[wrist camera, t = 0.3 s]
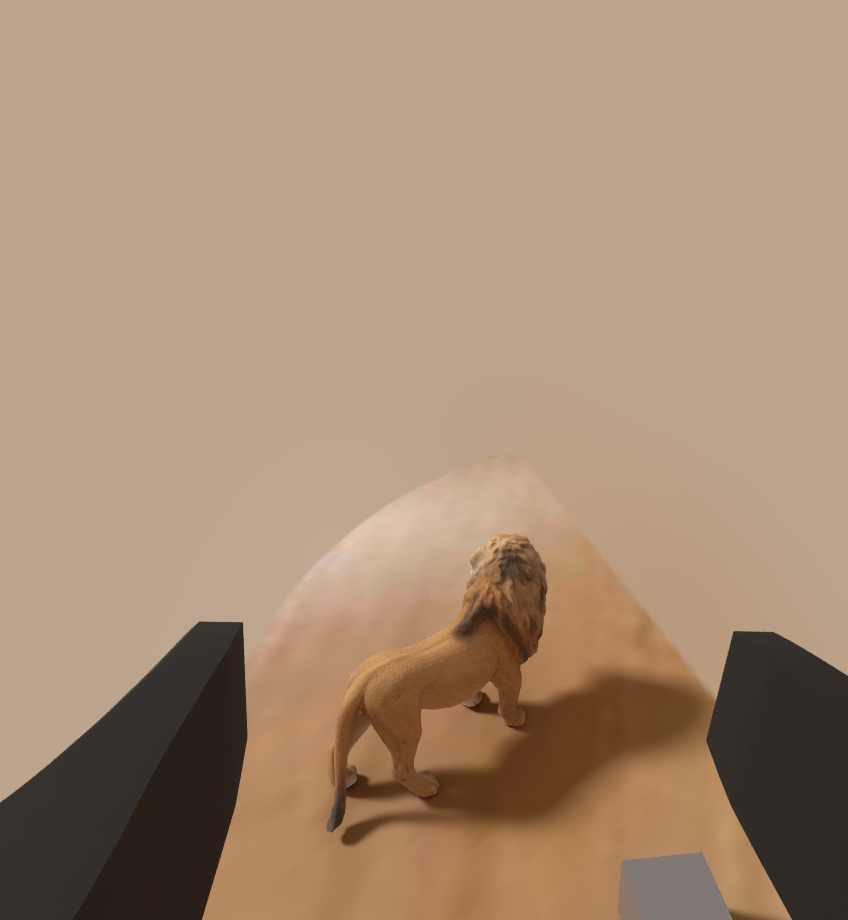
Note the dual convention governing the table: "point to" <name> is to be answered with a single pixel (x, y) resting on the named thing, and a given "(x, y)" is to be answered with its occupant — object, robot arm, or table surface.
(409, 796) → the table surface
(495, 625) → the lion figurine
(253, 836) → the table surface
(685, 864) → the gray brick
